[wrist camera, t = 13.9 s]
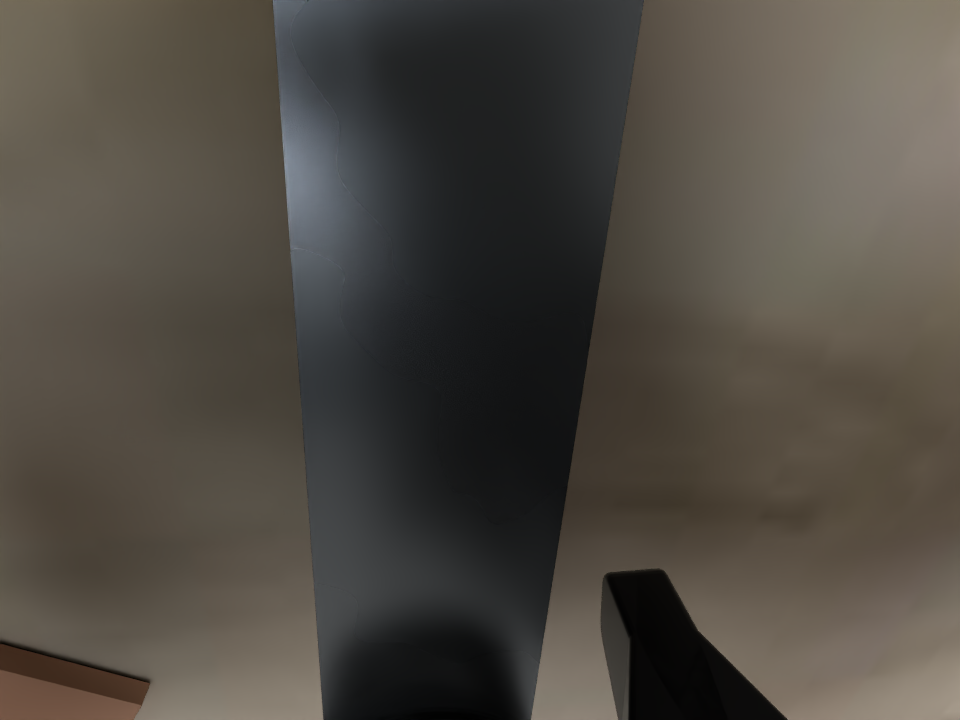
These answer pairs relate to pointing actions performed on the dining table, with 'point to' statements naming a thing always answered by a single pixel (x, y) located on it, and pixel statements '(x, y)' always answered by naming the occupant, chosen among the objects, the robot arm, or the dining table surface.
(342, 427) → the lever
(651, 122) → the dining table surface
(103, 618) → the dining table surface
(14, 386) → the dining table surface
